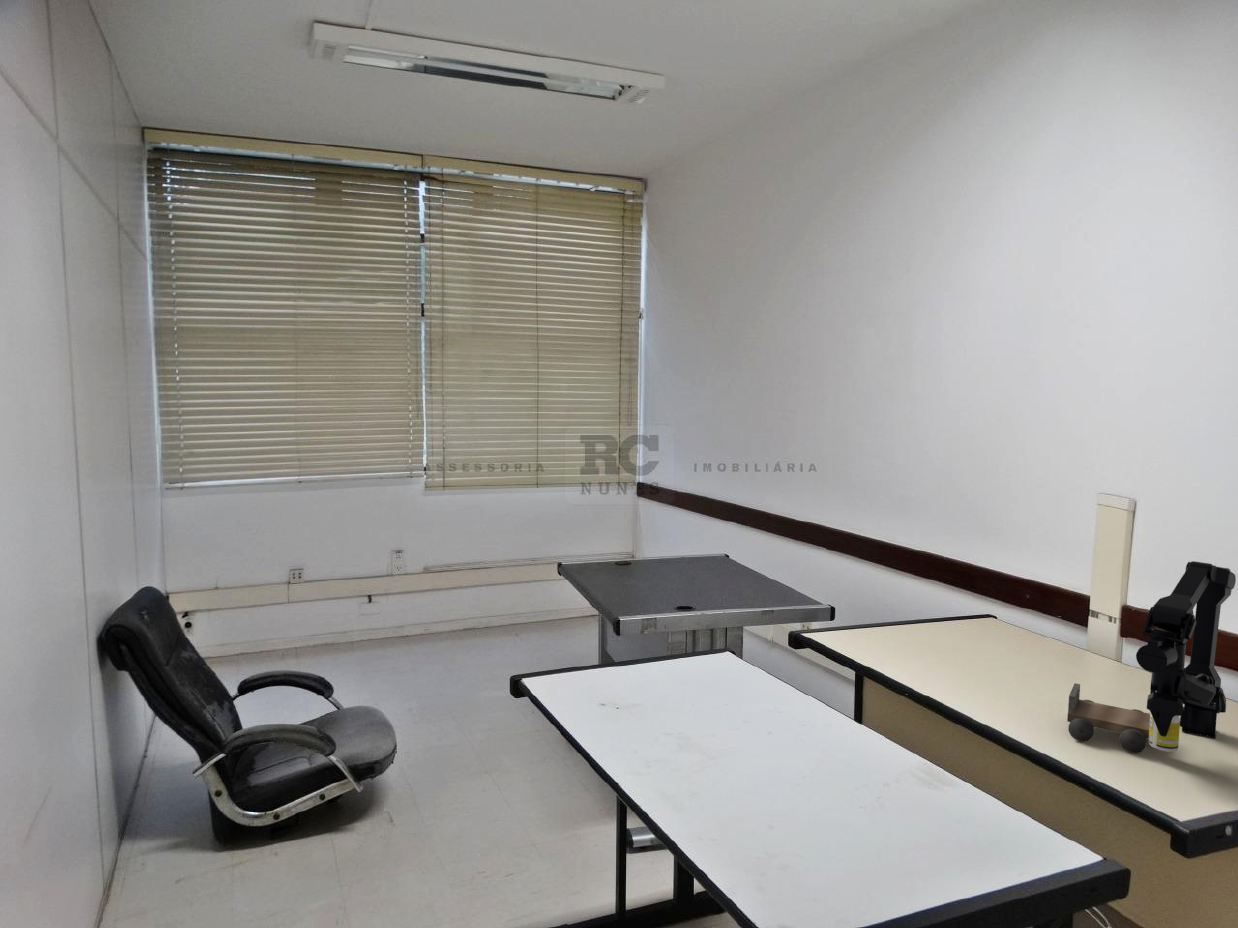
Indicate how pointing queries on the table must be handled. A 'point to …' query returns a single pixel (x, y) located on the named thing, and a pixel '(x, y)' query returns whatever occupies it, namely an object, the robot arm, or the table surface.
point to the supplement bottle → (1170, 740)
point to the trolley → (1107, 721)
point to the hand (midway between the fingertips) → (1163, 731)
